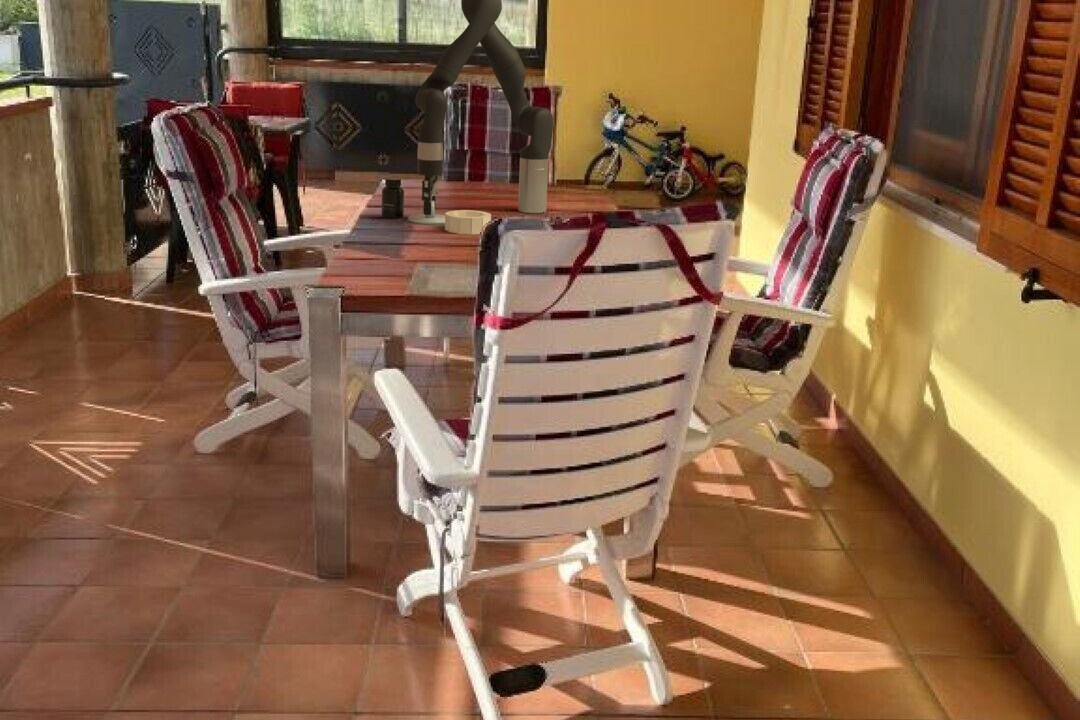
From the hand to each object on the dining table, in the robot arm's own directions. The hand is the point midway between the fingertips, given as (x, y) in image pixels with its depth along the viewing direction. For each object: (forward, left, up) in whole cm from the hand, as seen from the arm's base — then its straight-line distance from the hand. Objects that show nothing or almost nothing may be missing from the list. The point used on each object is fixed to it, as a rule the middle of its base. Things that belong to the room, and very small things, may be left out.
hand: (429, 212), depth 317 cm
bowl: (+11, +13, -3) cm, 17 cm away
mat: (0, 0, -3) cm, 3 cm away
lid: (0, 0, -3) cm, 3 cm away
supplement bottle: (-4, -12, -3) cm, 13 cm away
